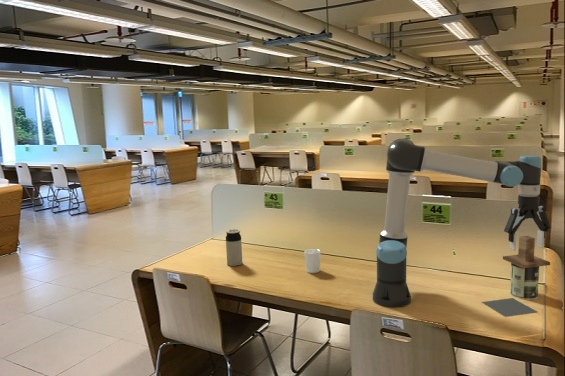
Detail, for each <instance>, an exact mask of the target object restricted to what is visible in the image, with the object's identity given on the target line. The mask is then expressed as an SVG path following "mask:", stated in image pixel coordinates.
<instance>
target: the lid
mask: <svg viewBox="0 0 565 376" xmlns="http://www.w3.org/2000/svg"><path fill="white" fill-rule="evenodd" d="M535 243H536V238H535V237H532V236H529V235H523V236H518V252H517V254H511V255H502V260H504V261H506V262H508V263H510V264H511V263H513V264H515V265H517V266H519V267H522V268H529V267H538V266H539V267H546V266H550V265H551V262H550V261H549V260H546V259H543V258H540V257H538V256H536V255H535V246H536V245H535Z"/></svg>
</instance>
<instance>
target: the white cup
mask: <svg viewBox="0 0 565 376" xmlns="http://www.w3.org/2000/svg"><path fill="white" fill-rule="evenodd" d="M303 251H304V254H303V255H304V264H305V271H306V273H308V274H316V273H319V272H320V267H321V250H320V249H316V248H310V249H309V248H308V249H305V250H303Z"/></svg>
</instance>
